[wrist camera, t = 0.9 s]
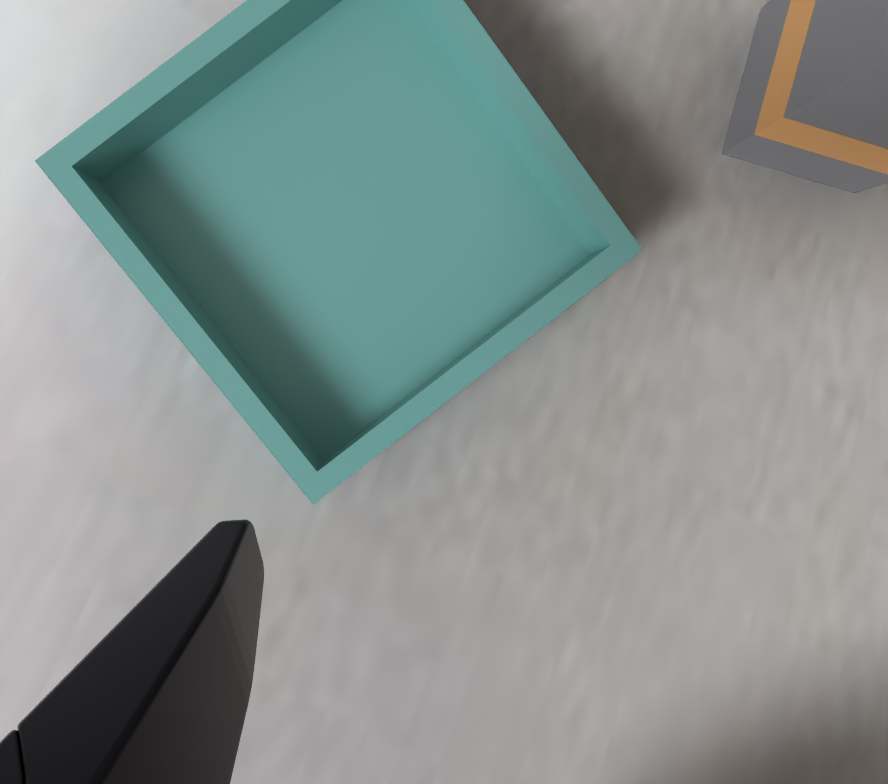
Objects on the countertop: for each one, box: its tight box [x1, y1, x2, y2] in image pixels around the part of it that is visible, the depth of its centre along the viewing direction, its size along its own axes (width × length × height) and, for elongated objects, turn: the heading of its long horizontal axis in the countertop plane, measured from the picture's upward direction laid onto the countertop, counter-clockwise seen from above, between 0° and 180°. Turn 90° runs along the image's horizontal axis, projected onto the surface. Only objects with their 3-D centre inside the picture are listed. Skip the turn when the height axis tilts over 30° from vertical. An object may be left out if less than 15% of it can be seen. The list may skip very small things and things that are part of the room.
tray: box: [35, 0, 642, 505], centre depth 22 cm, size 12×12×3 cm
